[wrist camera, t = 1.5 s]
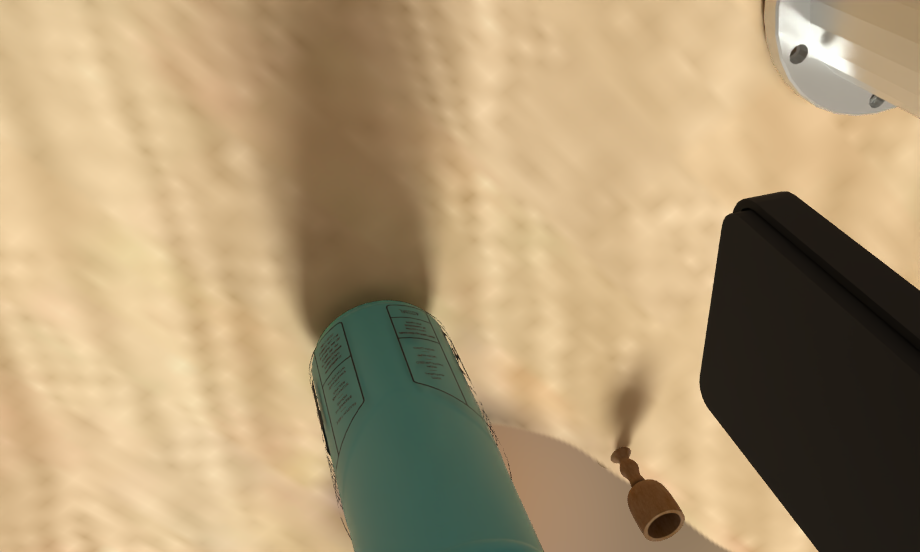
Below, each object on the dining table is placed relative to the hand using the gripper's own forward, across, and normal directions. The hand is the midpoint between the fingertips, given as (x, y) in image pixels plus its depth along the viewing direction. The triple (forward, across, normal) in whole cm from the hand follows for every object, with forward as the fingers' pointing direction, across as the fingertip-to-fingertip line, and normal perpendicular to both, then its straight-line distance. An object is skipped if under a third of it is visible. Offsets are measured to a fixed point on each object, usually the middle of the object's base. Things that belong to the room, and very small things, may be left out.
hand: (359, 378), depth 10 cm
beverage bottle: (+24, -3, +18) cm, 30 cm away
